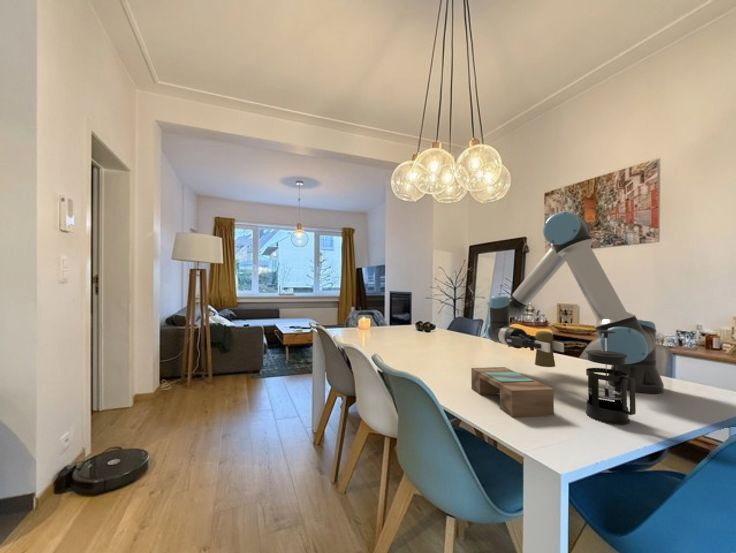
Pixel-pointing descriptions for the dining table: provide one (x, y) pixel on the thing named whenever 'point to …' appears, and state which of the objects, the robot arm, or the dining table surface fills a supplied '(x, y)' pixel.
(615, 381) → the french press
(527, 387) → the wooden block
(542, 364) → the cork
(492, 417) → the dining table surface
